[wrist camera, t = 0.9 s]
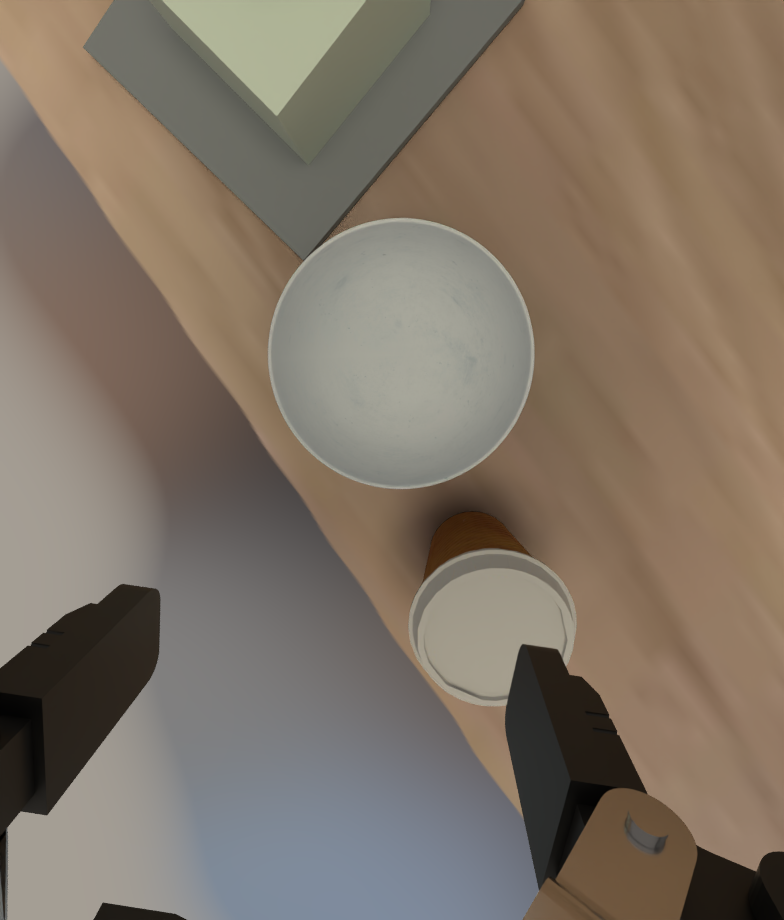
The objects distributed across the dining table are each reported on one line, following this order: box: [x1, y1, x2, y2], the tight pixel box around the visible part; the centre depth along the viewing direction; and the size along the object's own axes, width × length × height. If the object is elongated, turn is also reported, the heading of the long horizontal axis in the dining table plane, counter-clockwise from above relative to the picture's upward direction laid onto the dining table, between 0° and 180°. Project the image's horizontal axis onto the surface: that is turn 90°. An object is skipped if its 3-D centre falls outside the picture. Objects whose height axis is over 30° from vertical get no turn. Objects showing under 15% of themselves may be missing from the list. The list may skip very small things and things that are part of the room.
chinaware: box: [268, 218, 535, 489], centre depth 33 cm, size 15×15×8 cm
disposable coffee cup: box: [408, 512, 577, 706], centre depth 35 cm, size 10×10×12 cm
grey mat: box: [83, 0, 525, 260], centre depth 32 cm, size 20×18×1 cm
